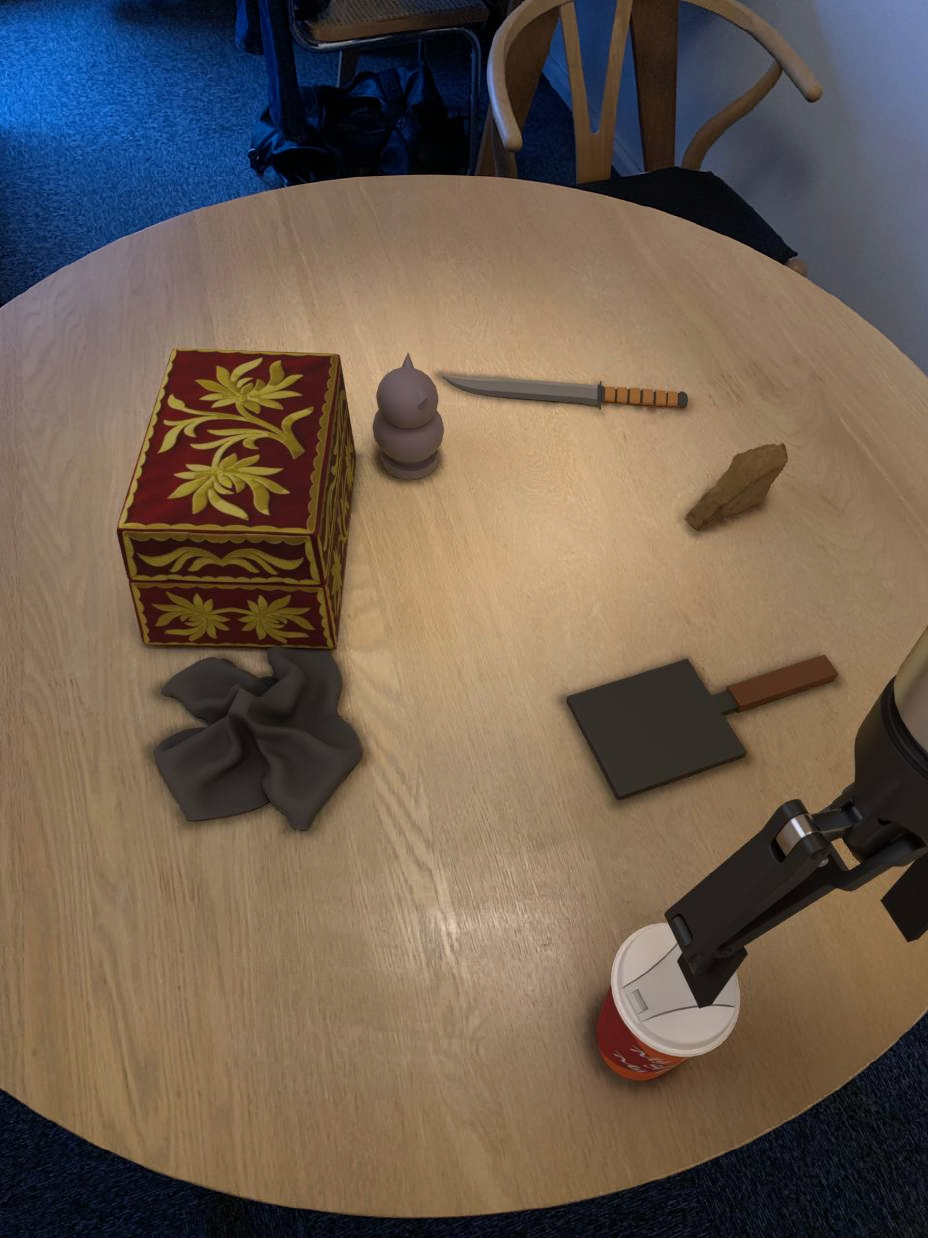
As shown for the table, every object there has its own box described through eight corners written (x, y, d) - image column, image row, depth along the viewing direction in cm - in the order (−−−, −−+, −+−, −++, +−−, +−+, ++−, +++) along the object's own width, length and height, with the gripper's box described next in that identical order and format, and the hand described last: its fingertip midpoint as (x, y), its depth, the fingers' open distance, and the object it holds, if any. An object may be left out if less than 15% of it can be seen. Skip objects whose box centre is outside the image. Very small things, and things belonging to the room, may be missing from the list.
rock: (699, 538, 98) (793, 523, 98) (693, 457, 96) (789, 442, 96) (673, 519, 109) (758, 506, 108) (667, 445, 106) (754, 432, 106)
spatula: (860, 716, 88) (865, 709, 88) (617, 801, 82) (620, 794, 81) (796, 628, 94) (800, 620, 94) (565, 700, 88) (567, 693, 87)
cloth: (362, 829, 80) (358, 797, 75) (139, 839, 78) (121, 807, 73) (361, 620, 93) (358, 580, 88) (171, 625, 91) (157, 586, 87)
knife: (438, 392, 113) (442, 365, 116) (438, 400, 114) (442, 373, 117) (689, 411, 112) (688, 383, 114) (687, 419, 113) (685, 391, 116)
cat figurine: (365, 441, 108) (360, 355, 99) (430, 428, 110) (432, 343, 100) (385, 492, 103) (382, 407, 94) (452, 478, 105) (456, 394, 96)
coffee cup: (614, 1118, 67) (658, 1075, 55) (561, 1008, 71) (591, 946, 59) (712, 1067, 69) (774, 1015, 57) (655, 964, 74) (701, 895, 62)
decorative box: (337, 650, 90) (325, 545, 78) (142, 646, 89) (100, 539, 77) (357, 455, 107) (349, 345, 95) (193, 450, 106) (165, 338, 94)
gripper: (1144, 607, 43) (937, 842, 59) (663, 713, 37) (572, 946, 52) (1284, 735, 38) (1019, 954, 54) (760, 883, 32) (629, 1084, 47)
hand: (799, 950), depth 53 cm, fingers open, 13 cm apart
